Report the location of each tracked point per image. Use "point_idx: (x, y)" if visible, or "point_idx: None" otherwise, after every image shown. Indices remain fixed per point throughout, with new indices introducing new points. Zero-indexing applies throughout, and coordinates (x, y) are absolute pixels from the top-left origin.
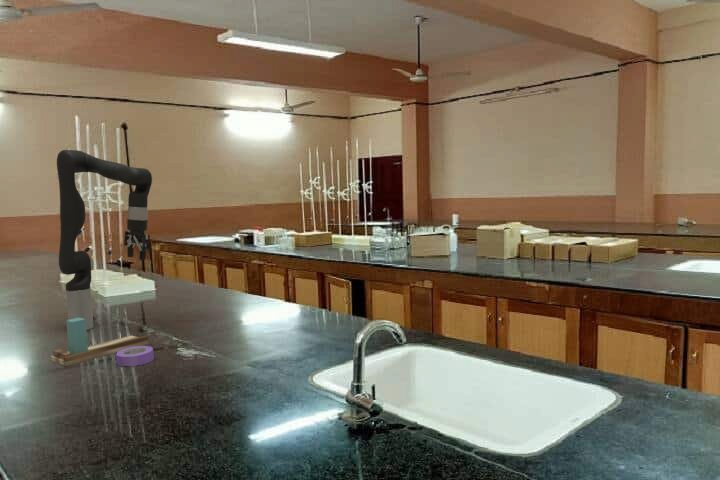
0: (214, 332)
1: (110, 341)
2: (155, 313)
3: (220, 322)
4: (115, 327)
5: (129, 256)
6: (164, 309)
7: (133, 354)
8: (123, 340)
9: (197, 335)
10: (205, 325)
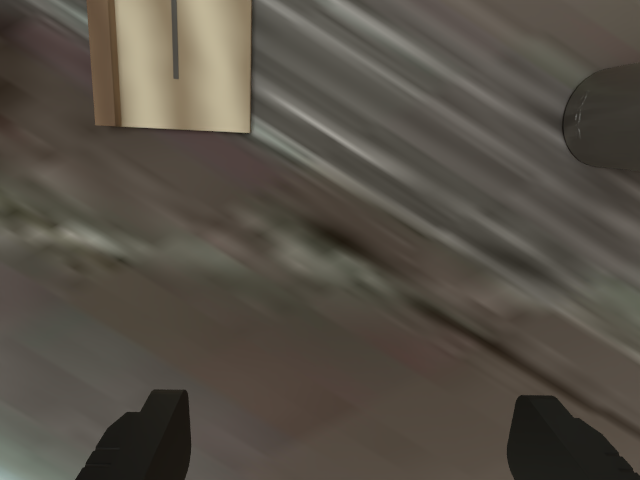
0: (29, 376)
1: (236, 18)
2: None
3: None
4: (489, 210)
5: (521, 412)
6: None
7: None
8: (198, 61)
9: (49, 313)
10: None
